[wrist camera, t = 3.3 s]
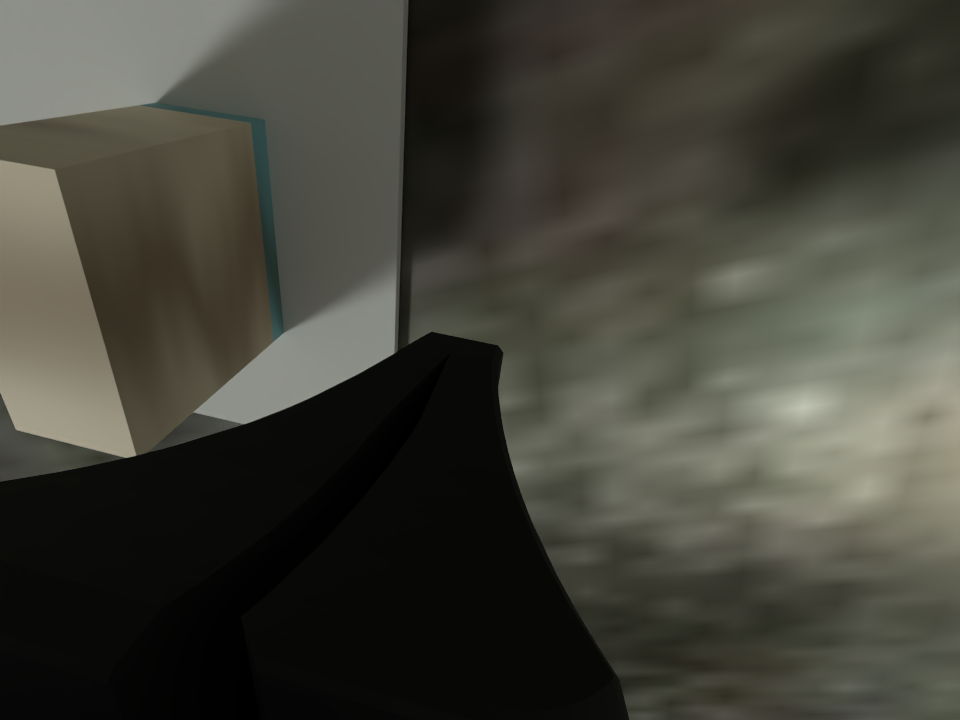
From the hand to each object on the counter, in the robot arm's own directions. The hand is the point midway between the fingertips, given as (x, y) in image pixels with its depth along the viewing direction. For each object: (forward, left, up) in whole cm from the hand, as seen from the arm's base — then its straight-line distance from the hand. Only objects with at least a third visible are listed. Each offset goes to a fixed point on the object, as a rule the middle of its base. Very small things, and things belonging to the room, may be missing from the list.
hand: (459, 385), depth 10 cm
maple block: (0, +8, -5) cm, 9 cm away
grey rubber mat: (0, +10, -5) cm, 11 cm away
